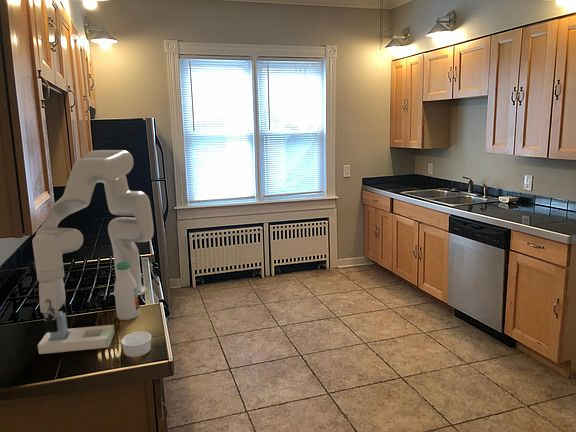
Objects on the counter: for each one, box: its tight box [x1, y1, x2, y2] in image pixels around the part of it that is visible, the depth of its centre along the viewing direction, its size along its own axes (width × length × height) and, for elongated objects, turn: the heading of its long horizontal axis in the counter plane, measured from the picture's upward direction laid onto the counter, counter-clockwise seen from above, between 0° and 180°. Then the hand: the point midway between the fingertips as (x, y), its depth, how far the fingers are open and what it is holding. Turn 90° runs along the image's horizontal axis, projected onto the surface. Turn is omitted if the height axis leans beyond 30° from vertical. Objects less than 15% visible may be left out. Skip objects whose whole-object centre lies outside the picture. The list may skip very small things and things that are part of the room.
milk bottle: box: [113, 262, 140, 321], centre depth 169 cm, size 8×8×20 cm
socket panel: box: [37, 324, 115, 355], centre depth 152 cm, size 10×21×3 cm, turn 99°
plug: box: [50, 311, 69, 341], centre depth 150 cm, size 4×4×11 cm
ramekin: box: [120, 331, 152, 358], centre depth 146 cm, size 9×9×4 cm
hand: (57, 325), depth 149 cm, fingers open, 9 cm apart
